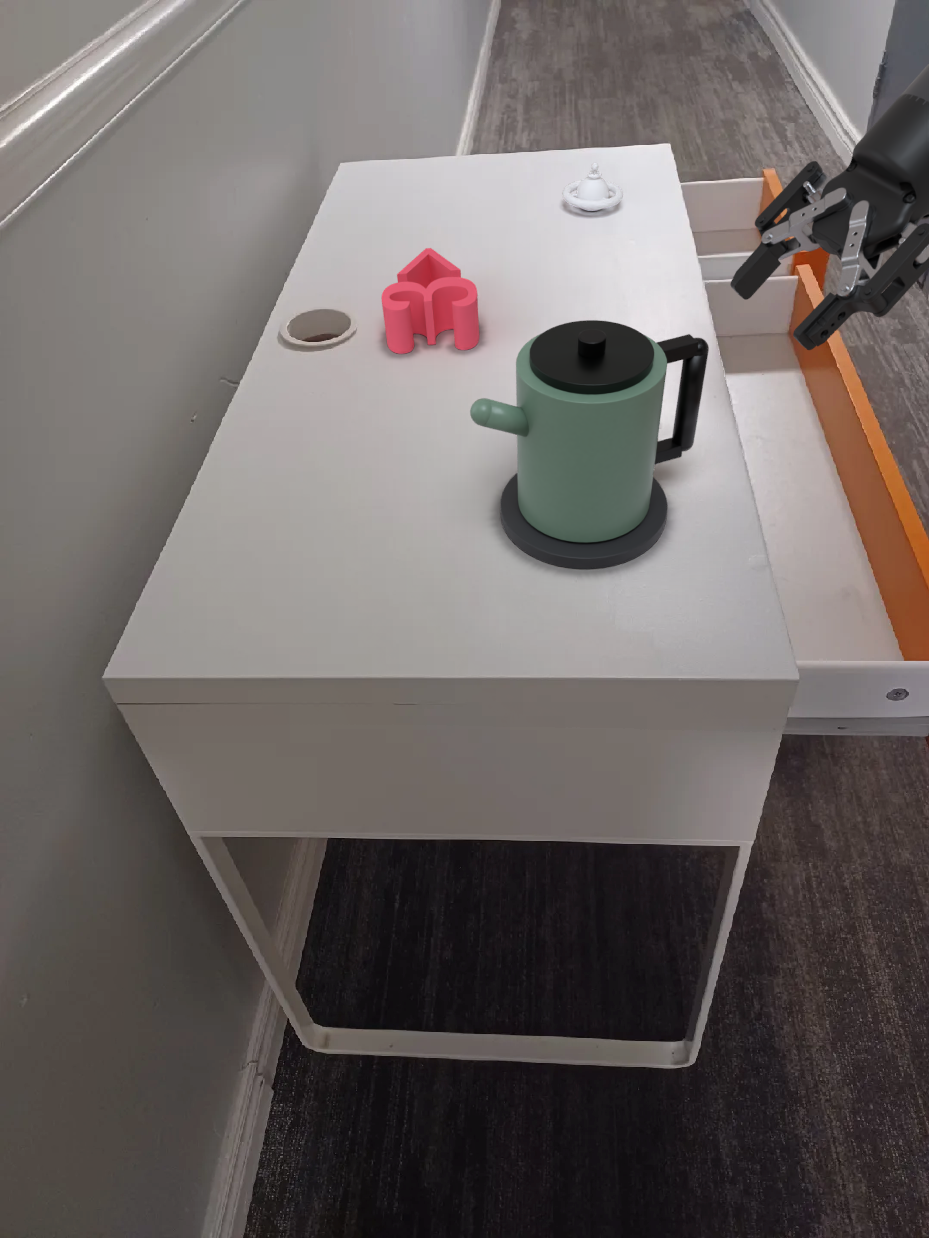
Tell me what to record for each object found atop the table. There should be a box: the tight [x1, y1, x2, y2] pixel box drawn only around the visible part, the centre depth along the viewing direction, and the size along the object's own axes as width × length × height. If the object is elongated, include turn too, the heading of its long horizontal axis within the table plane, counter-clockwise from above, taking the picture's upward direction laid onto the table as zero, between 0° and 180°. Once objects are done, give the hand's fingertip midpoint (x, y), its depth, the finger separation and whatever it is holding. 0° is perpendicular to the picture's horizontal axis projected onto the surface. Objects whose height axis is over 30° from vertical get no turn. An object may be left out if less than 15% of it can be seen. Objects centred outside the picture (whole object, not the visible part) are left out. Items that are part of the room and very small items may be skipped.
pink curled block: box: [381, 247, 480, 355], centre depth 97 cm, size 14×10×5 cm
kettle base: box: [499, 471, 668, 570], centre depth 75 cm, size 14×14×1 cm
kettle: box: [469, 319, 710, 543], centre depth 69 cm, size 19×11×15 cm, turn 110°
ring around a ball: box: [561, 162, 624, 212], centre depth 115 cm, size 8×6×8 cm
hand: (767, 317), depth 68 cm, fingers open, 8 cm apart
